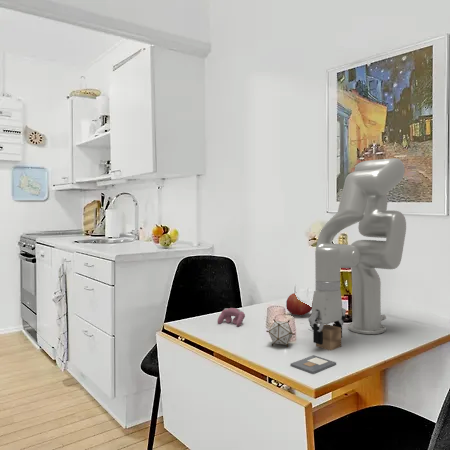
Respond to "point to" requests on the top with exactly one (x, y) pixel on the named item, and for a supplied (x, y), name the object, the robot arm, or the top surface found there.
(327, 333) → the walnut block
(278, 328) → the game die
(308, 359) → the card
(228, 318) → the video game controller
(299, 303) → the fruit
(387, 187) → the robot arm
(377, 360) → the top surface
